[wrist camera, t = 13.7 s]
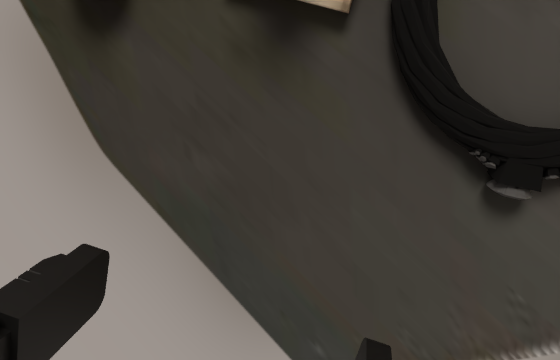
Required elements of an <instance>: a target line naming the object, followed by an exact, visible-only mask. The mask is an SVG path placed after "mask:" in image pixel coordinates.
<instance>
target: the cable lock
mask: <svg viewBox="0 0 560 360" xmlns="http://www.w3.org/2000/svg"><path fill="white" fill-rule="evenodd" d="M391 13H392V29H393V40H394V44H395V47H396V51H397V55H398V58H399V62H400V69H401V72H402V74H403V76H404V78H405V80H406V82H407V84H408V86H409V88H410V90H411V92H412V94H413V96H414V98H415V100H416V102H417V103H418V104H419V106H420V107H421V108H422V109H423V111H424V112H425V113H426V115H427V116H428V117H429V119H430V120H431V121H432V122H433V123H434V124H436V125H437V126H438V127H439V128H440V129H441V130H442V131H443V132H445V133H446V134H447V135H448V136H449V137H450V138H451V139H453V140H454V141H456V142H457V143H459V144H460V145H462V146H463V147H465V148H466V149H468V151H469V152H468V153H469V154H471V155H474V156H475V157H476V158H477V159H478V160H480V161H481V163H482V164H483V165H485V166H486V167H488V168H489V169H488V171H487V172H488V173H489V174H490V175H491V177H492V180H490V181H489V182H487V183H486V185H487V186H488V187H489V188H490V189H491V190H493V191H494V192H496V193H498V194H499V195H501V196H504V197H508V198H513V199H517V200H524V199H530V198H533V197H532V194H531V192H530V190H534V191H539V192H541V185H542V178H543V179H546V180H548V179H557V178H559V177H558V176H560V129H552V128H539V127H528V126H524V125H521V124H517V123H514V122H511V121H507V120H504V119H502V118H500V117H498V116H497V115H495V114H494V113H493V112H491V111H490V110H488V109H487V108H485V107H484V106H482V105H481V104H479V103H478V102H476V101H475V100H474V99H473V98H471V97H470V96H469V95H468V94H467V93H466V92H465V91H464V90H463V89H462V88H461V87H460V85H459V83H458V81H457V80H456V78H455V76H454V73H453V71H452V69H451V67H450V65H449V63H448V61H447V59H446V57H445V55H444V53H443V51H442V49H441V47H440V44H439V31H438V9H437V0H392V3H391Z"/></svg>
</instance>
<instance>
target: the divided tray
mask: <svg viewBox="0 0 560 360" xmlns="http://www.w3.org/2000/svg"><path fill="white" fill-rule="evenodd" d="M298 1H302V2H306V3H310V4H314V5H317V6H321V7H325V8H329V9H333V10H336V11H340V12H344V13H348V14H349V11H350V7H351V4H352V0H298Z"/></svg>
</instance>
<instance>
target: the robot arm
mask: <svg viewBox="0 0 560 360" xmlns="http://www.w3.org/2000/svg"><path fill="white" fill-rule="evenodd" d="M108 265H109V252H108V251H106V250H103V249H99V248H97V247H94V246H91V245H87V244H82V245H80V246H79V247H77V248H76V249H75V250H73V251H72V252H71V253H69V254H68V255H64V254H59V255H56V256H53V257H50V258H47V259H44V260H42V261H41V262H39V263H38V264H36V265H35V266H33V267H32V268H30V270H29V271H26V272H24V273H23V274H21V275H20V276H19V277H18V279H14V280H13V281H11V282H10V283H8V284H7V285H5V286H4V287H2V288H1V289H0V360H49V359H50V358H51V357H52V356H53V355H54V354H55V353H56V352H57V351H58V350H59V349H60V348H61V347H62V346H63V345H64V344H65V343H66V342H67V341H68V340H69V339H70V338H71V337H72V336H73V335H74V334H75V333H76V332H77V331H78V330H79V329H80V328H81V327H82V326H83V325H84V324H85V323H86V322H87V321H88V320H89V319H90V318H91V317H92V316H93V315H94V314H95V313H96V311H97V310H98V309H99V307H100V305H101V303H102V301H103V298H104V295H105V289H106V281H107V273H108ZM355 360H392V355H391V347H390V346H389V345H386V344H383V343H380V342H377V341H374V340H371V339H368V338H364V339H363V341H362V343H361V346H360V348H359V351H358V354H357V356H356V359H355Z"/></svg>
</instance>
